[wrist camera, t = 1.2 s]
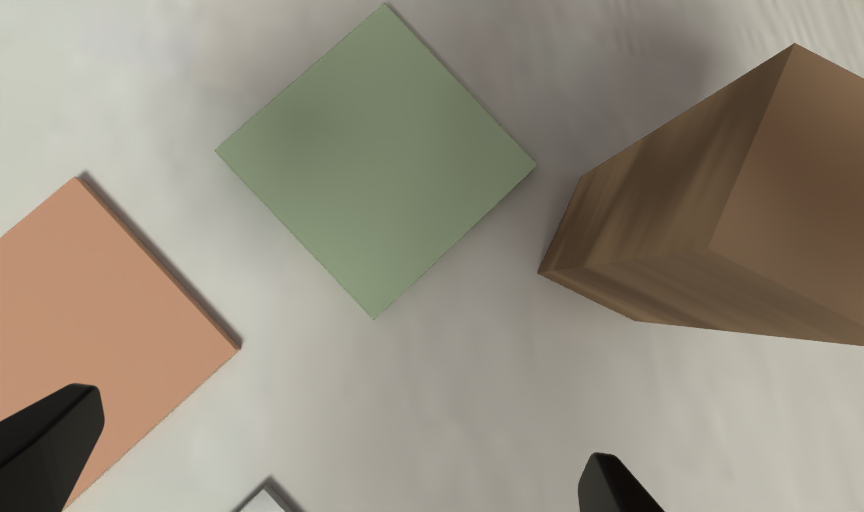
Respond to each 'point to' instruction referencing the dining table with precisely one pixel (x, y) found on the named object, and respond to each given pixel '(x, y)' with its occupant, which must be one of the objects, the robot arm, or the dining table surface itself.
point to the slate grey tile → (266, 502)
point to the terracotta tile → (98, 323)
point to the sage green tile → (376, 160)
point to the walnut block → (733, 211)
